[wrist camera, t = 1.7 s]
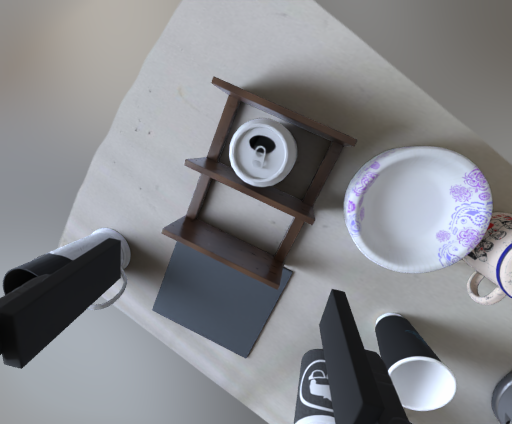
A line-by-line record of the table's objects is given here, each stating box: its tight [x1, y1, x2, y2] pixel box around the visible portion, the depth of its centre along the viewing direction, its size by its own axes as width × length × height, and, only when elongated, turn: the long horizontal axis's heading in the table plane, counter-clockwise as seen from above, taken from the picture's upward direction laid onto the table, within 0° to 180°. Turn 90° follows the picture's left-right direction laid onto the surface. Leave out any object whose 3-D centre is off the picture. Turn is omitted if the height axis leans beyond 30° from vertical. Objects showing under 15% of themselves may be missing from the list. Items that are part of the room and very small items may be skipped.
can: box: [229, 118, 298, 187], centre depth 33 cm, size 8×8×12 cm
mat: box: [152, 241, 292, 358], centre depth 46 cm, size 20×20×1 cm
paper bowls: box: [344, 146, 493, 273], centre depth 33 cm, size 15×15×8 cm
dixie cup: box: [375, 313, 457, 411], centre depth 36 cm, size 8×8×11 cm
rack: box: [161, 77, 357, 290], centre depth 36 cm, size 18×21×8 cm
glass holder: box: [3, 228, 131, 310], centre depth 41 cm, size 9×14×15 cm, turn 76°
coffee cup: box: [294, 349, 335, 424], centre depth 39 cm, size 10×10×15 cm
